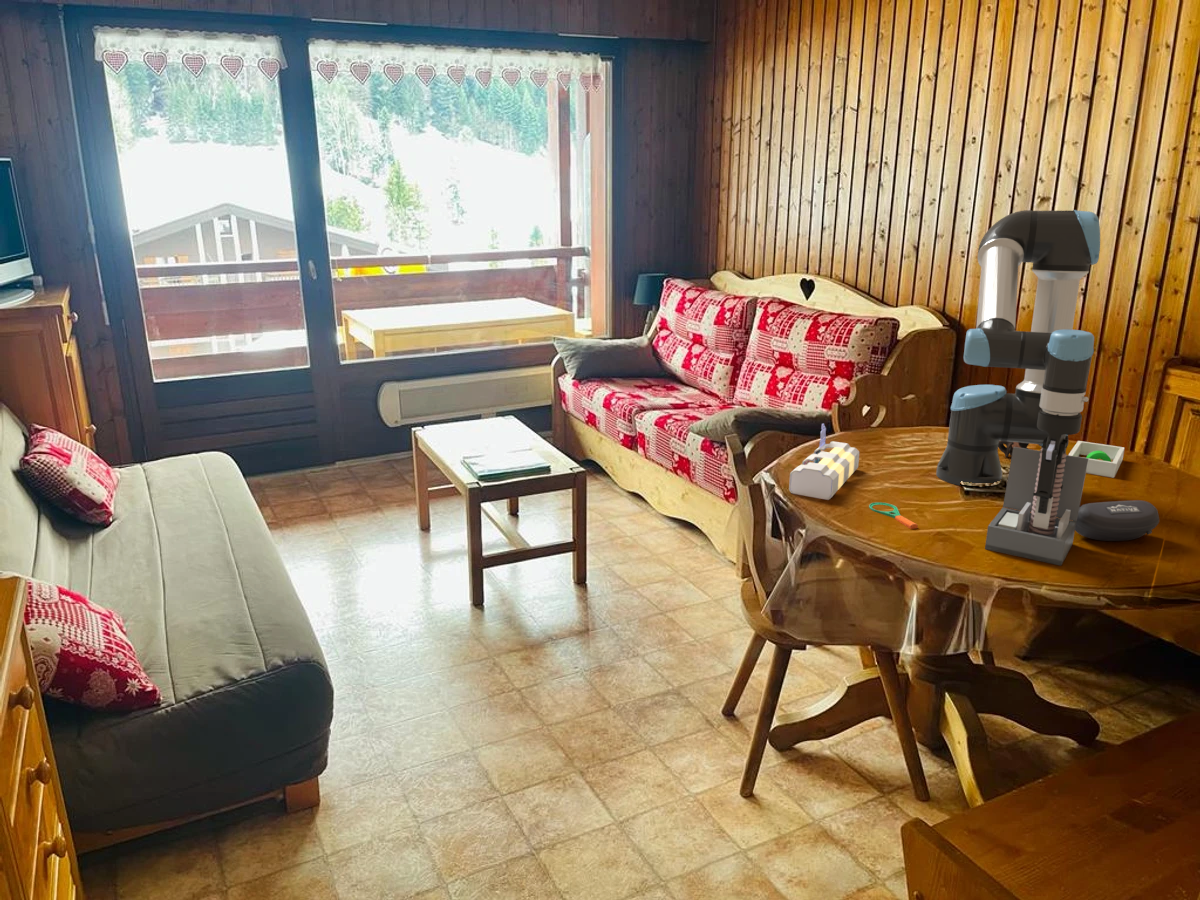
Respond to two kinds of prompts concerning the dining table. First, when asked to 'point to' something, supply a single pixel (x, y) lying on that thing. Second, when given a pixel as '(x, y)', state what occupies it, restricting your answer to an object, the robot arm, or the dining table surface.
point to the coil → (1054, 504)
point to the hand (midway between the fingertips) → (1043, 522)
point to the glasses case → (1116, 520)
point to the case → (1013, 525)
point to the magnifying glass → (894, 515)
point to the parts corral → (1098, 465)
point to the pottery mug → (1011, 446)
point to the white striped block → (824, 470)
